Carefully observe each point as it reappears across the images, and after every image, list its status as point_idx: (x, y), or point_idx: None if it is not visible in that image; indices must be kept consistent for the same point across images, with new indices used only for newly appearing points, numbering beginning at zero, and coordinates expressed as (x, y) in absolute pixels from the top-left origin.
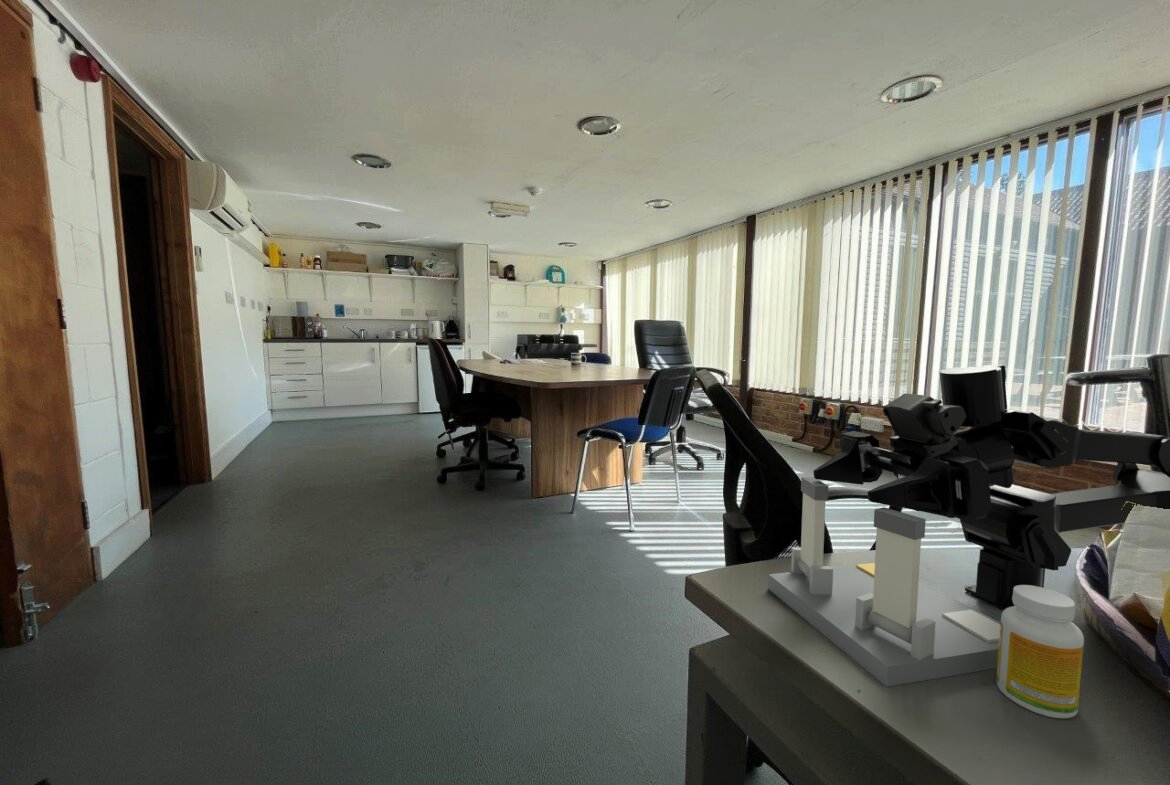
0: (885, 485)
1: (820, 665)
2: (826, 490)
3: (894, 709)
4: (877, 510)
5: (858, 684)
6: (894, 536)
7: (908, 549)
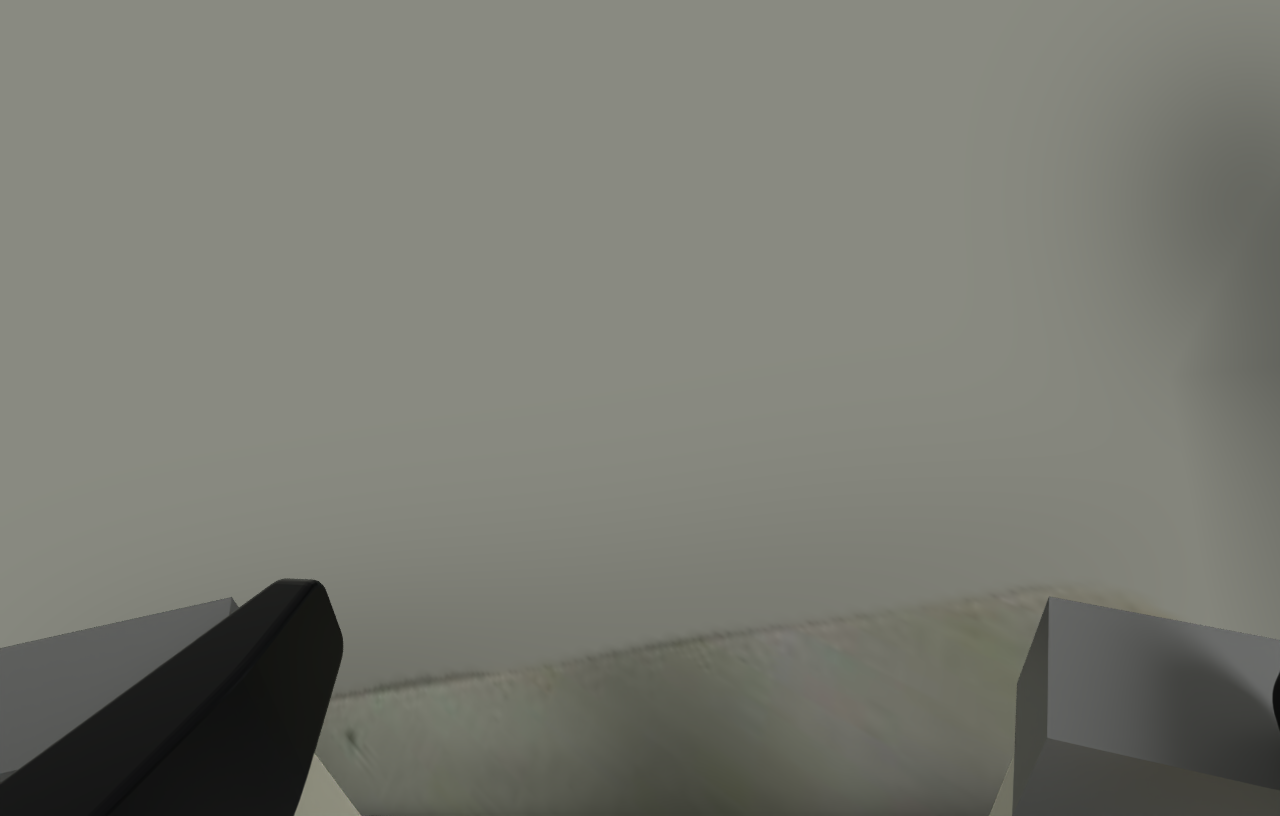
0: (164, 705)
1: (494, 705)
2: (1037, 745)
3: None
4: (204, 603)
5: (370, 760)
6: None
7: None
